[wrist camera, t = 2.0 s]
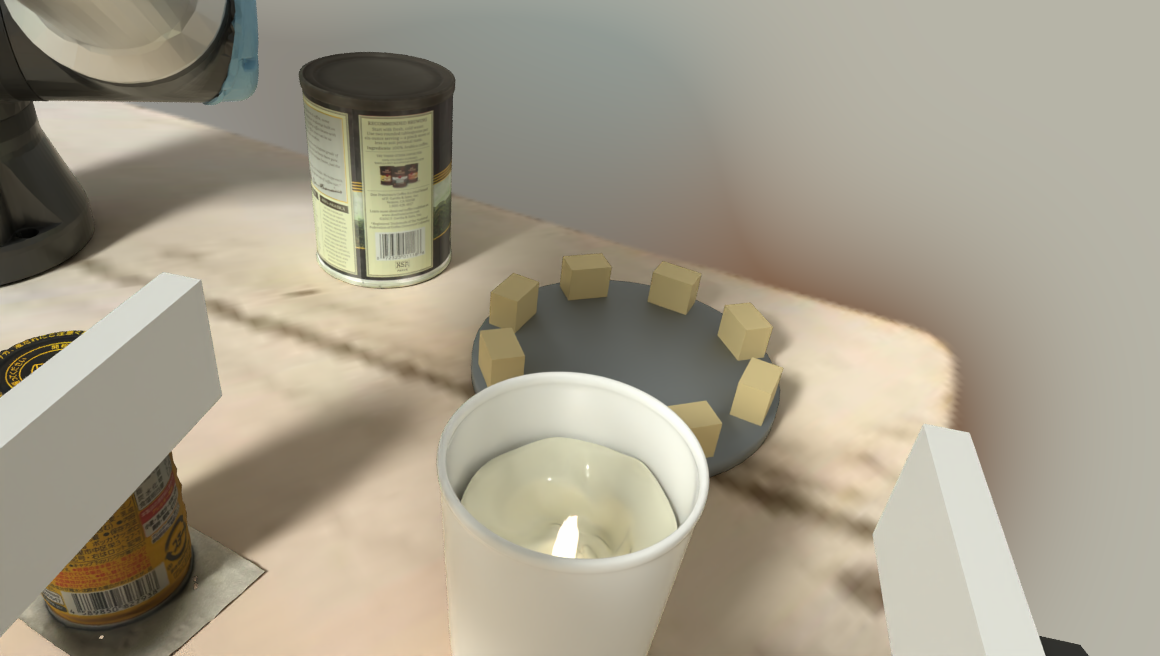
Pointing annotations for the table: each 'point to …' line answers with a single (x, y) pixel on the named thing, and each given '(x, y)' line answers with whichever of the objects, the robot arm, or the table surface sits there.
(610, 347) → the ring seat
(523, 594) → the candle holder
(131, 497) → the condiment
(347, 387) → the table surface
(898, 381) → the table surface
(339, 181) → the coffee can
